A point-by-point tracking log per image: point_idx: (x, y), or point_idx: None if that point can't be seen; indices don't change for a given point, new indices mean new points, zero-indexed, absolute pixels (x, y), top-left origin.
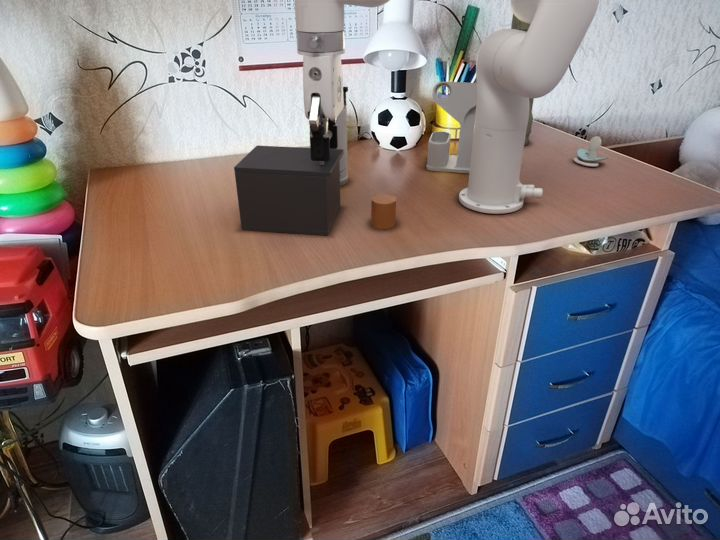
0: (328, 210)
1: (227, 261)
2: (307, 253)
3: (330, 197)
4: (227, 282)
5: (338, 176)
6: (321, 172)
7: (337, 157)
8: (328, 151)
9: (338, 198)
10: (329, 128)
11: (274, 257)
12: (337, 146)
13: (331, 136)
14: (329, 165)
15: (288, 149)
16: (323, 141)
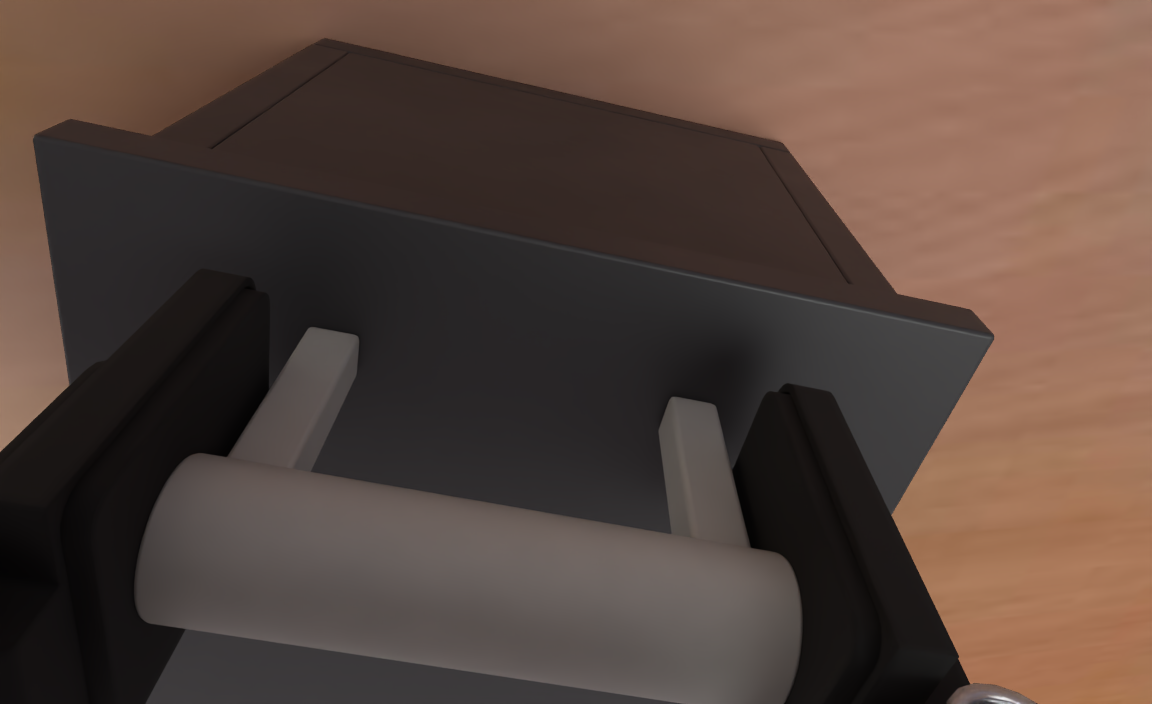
0: (771, 186)
1: (936, 572)
2: (979, 260)
3: (692, 191)
4: (1120, 555)
5: (285, 120)
6: (944, 419)
7: (425, 235)
8: (864, 479)
9: (370, 76)
10: (110, 597)
11: (966, 410)
12: (215, 274)
13: (246, 473)
14: (748, 340)
15: (199, 681)
16: (954, 680)
